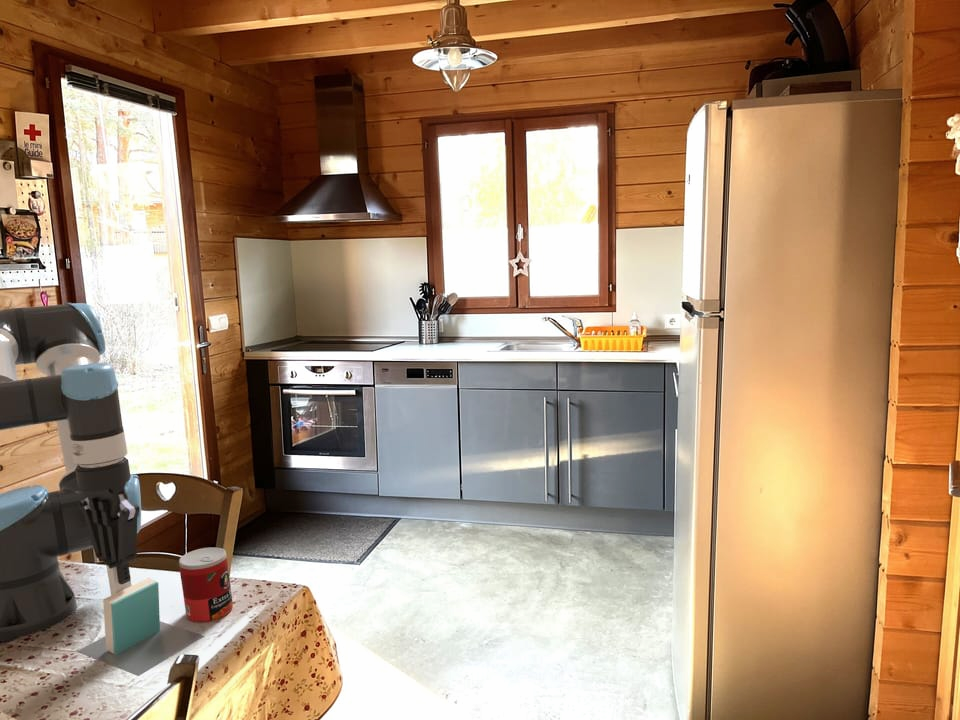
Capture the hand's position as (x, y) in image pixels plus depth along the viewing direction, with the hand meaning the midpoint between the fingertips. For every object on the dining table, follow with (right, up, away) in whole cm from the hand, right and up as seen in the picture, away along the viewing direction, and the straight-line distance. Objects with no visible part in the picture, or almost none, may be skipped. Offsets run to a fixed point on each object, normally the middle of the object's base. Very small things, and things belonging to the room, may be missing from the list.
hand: (122, 600), depth 116 cm
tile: (+1, -7, +1) cm, 7 cm away
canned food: (+11, -6, +9) cm, 15 cm away
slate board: (+3, -8, 0) cm, 8 cm away
